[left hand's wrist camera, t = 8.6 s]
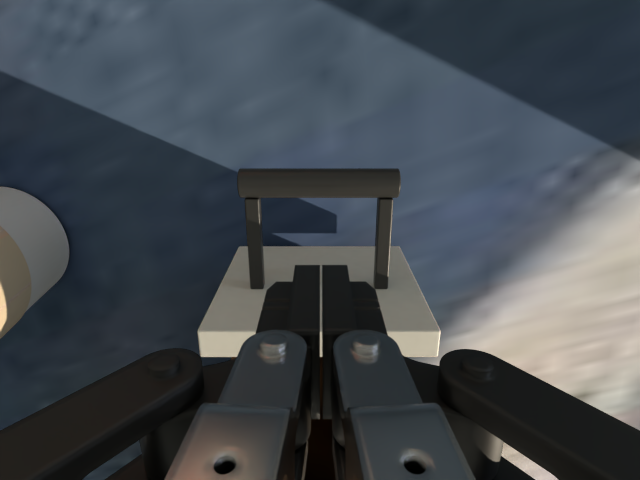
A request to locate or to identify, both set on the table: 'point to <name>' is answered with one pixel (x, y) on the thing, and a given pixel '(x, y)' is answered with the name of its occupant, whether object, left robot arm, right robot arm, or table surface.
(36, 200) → the coffee cup
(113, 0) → the table surface
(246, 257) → the drawer
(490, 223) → the table surface
